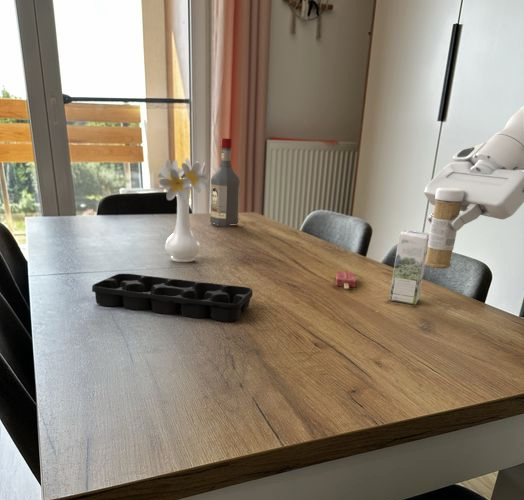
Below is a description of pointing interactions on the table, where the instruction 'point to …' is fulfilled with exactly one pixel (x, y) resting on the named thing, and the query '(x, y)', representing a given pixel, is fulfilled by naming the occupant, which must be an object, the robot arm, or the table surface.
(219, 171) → the liquor
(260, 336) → the table surface
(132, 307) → the egg carton
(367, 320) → the table surface
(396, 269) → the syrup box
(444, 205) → the spice jar
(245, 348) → the table surface
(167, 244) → the flower vase
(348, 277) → the popsicle
